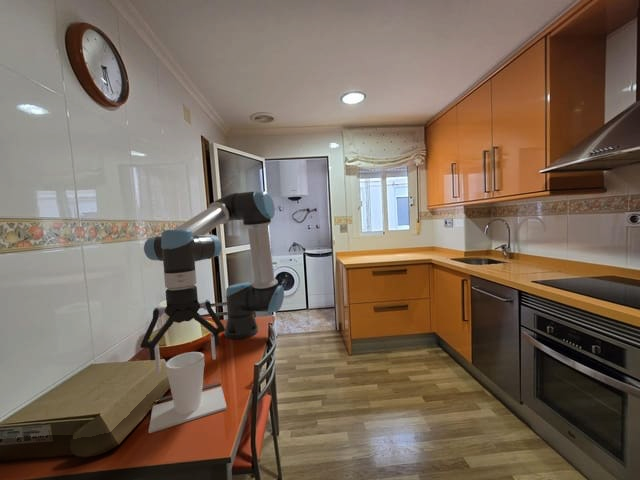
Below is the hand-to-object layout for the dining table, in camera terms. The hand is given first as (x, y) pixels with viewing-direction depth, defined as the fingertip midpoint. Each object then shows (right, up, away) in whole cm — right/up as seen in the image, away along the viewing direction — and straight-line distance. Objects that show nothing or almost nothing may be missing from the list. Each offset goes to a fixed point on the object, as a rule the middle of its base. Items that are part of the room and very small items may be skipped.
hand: (187, 363), depth 75 cm
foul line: (-3, -12, +8) cm, 15 cm away
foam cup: (0, -12, 0) cm, 12 cm away
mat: (0, -12, 0) cm, 12 cm away
